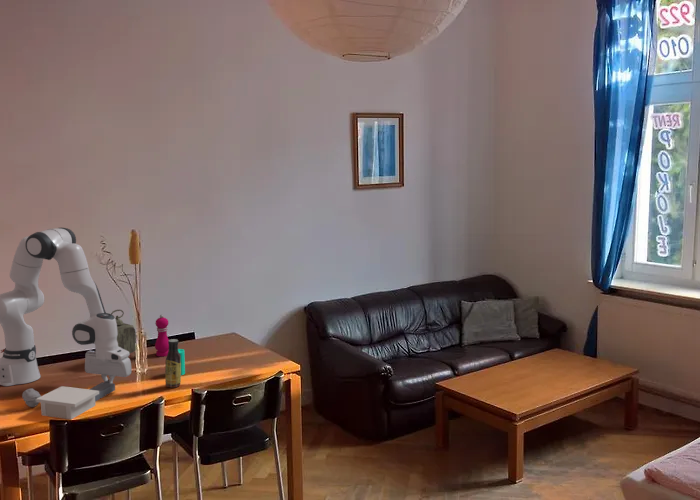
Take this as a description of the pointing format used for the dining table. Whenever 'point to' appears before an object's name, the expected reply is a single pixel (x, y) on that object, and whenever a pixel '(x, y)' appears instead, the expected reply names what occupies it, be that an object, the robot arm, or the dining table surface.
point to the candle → (182, 360)
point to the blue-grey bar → (103, 389)
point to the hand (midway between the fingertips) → (108, 384)
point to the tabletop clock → (125, 334)
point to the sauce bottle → (173, 365)
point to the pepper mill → (162, 337)
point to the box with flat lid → (67, 402)
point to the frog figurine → (31, 397)
